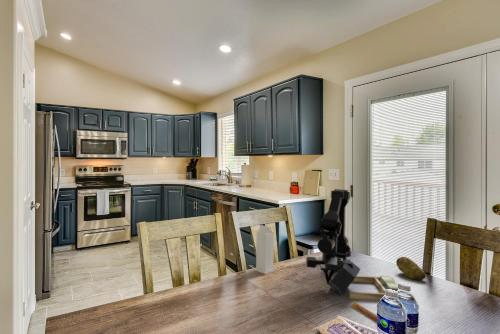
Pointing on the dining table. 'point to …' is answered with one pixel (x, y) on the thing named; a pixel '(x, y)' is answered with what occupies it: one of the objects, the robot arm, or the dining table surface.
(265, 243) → the milk
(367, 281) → the light tan flat part
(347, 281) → the small box
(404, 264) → the potato
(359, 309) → the chocolate bar
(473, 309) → the dining table surface
